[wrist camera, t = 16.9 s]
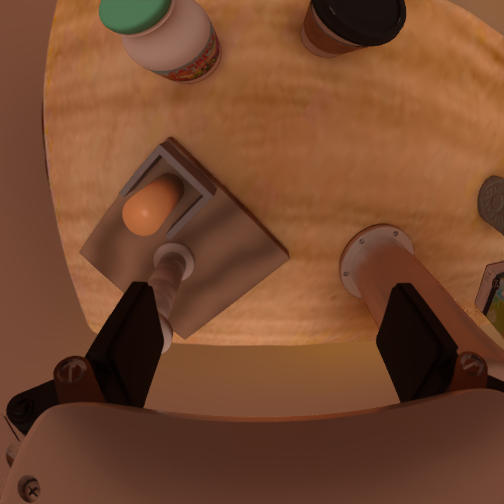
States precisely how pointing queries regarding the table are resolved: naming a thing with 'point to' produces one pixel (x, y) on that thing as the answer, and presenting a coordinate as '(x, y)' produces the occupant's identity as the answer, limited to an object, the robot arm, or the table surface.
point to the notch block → (185, 170)
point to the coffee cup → (351, 25)
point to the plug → (152, 204)
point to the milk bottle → (165, 36)
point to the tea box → (493, 296)
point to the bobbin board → (187, 253)
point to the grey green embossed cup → (492, 202)
